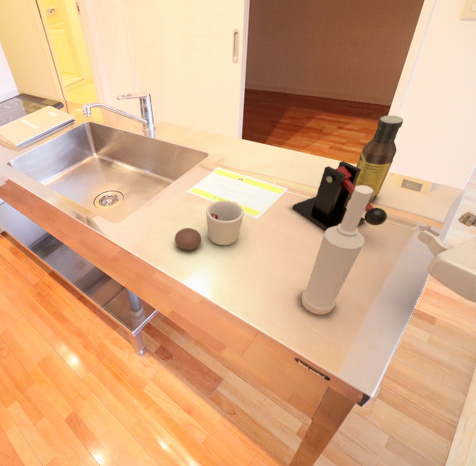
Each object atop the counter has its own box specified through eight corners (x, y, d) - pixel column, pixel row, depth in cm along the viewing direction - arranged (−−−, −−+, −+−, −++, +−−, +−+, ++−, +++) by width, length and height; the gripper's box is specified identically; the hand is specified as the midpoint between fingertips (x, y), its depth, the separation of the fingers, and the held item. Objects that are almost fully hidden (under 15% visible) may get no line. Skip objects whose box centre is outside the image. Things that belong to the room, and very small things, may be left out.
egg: (169, 244, 76) (169, 231, 73) (188, 233, 78) (188, 220, 75) (187, 257, 72) (187, 244, 69) (206, 245, 74) (207, 232, 71)
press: (363, 223, 72) (385, 174, 64) (332, 236, 71) (350, 187, 63) (321, 197, 81) (335, 151, 73) (292, 208, 80) (303, 162, 71)
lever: (382, 225, 66) (395, 216, 62) (368, 230, 65) (381, 222, 62) (337, 173, 72) (347, 163, 68) (324, 178, 71) (334, 167, 68)
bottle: (295, 295, 60) (333, 182, 44) (321, 290, 60) (369, 176, 44) (310, 318, 56) (357, 203, 40) (338, 313, 56) (398, 196, 40)
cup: (218, 217, 81) (219, 190, 76) (249, 226, 77) (253, 198, 72) (199, 242, 75) (200, 215, 70) (232, 253, 71) (235, 226, 65)
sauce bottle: (355, 186, 83) (386, 110, 70) (381, 196, 79) (418, 117, 66) (340, 195, 81) (368, 118, 68) (365, 206, 77) (400, 126, 64)
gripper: (618, 242, 44) (498, 191, 53) (517, 295, 40) (407, 228, 49) (578, 272, 48) (474, 219, 58) (483, 322, 44) (389, 256, 54)
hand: (443, 224), depth 53 cm, fingers open, 8 cm apart
